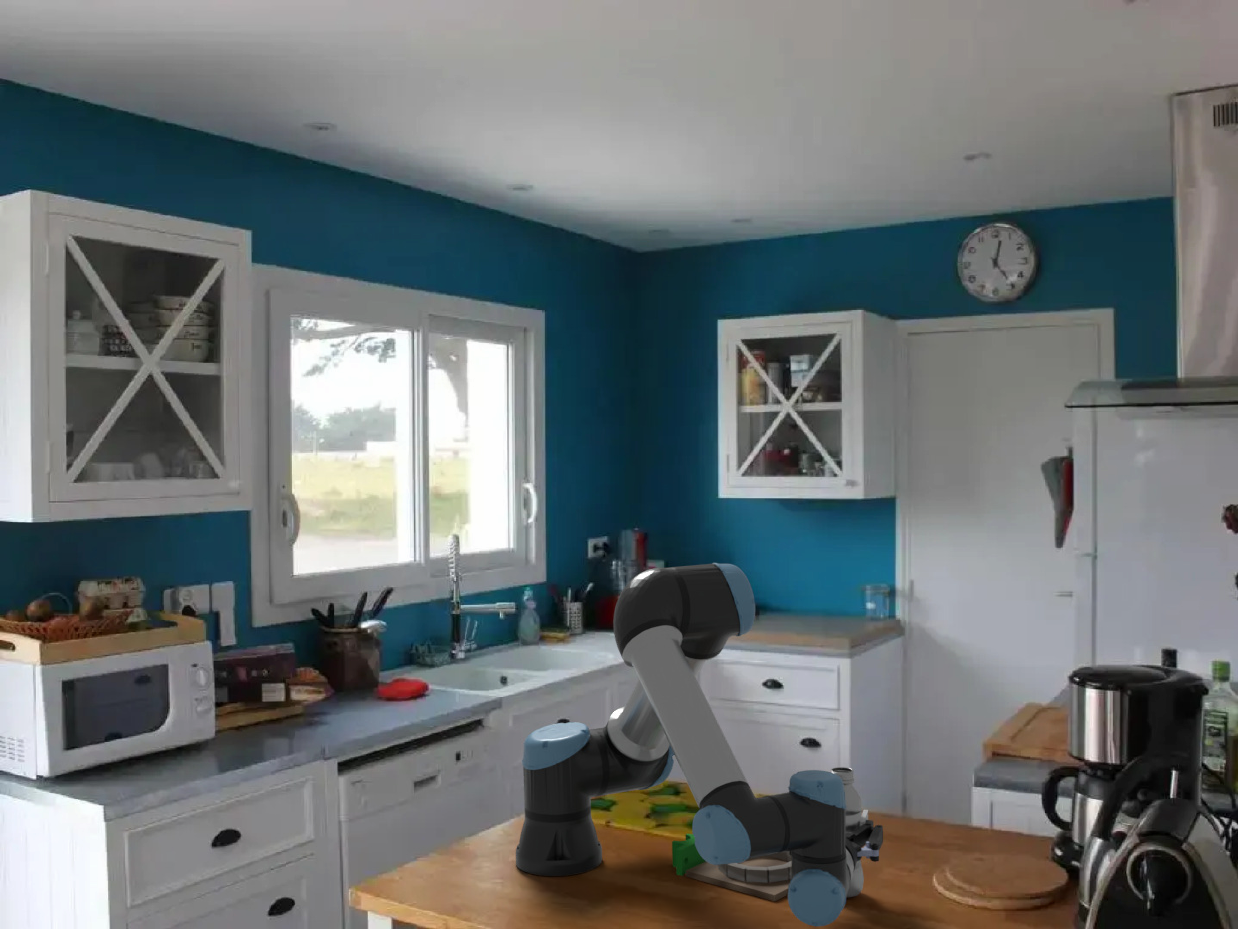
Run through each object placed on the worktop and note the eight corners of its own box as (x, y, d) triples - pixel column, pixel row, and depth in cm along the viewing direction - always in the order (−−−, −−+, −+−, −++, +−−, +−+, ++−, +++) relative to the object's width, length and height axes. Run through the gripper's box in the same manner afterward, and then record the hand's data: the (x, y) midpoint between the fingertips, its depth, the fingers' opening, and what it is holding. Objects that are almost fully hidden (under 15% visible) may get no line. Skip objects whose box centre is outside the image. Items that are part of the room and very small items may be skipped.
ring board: (685, 876, 203) (685, 858, 203) (748, 848, 216) (748, 831, 216) (774, 901, 191) (774, 882, 191) (835, 870, 204) (835, 852, 204)
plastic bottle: (869, 891, 194) (868, 767, 194) (855, 905, 188) (854, 778, 188) (831, 884, 197) (830, 762, 197) (816, 898, 192) (815, 772, 191)
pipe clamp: (696, 854, 215) (696, 828, 215) (715, 858, 212) (714, 832, 212) (663, 872, 205) (662, 846, 205) (681, 876, 203) (681, 849, 203)
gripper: (764, 884, 178) (788, 835, 200) (895, 895, 173) (905, 843, 195) (763, 834, 178) (787, 790, 200) (894, 843, 173) (904, 797, 195)
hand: (845, 816), depth 198 cm, fingers closed on plastic bottle, 6 cm apart
